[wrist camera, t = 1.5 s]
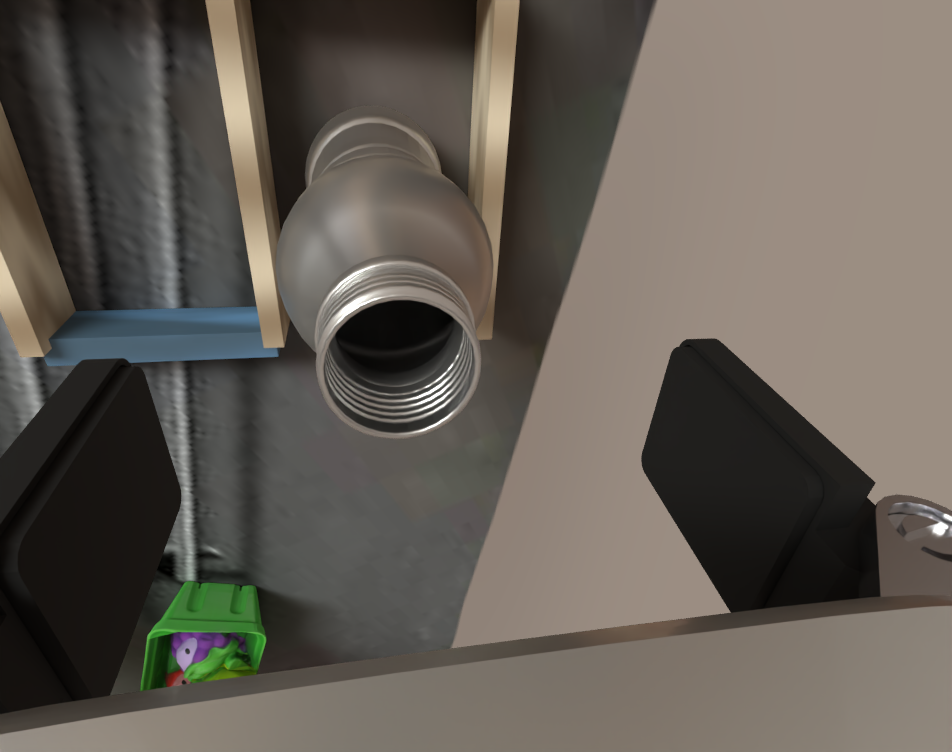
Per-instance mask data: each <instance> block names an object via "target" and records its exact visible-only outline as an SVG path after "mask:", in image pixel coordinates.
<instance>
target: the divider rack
mask: <svg viewBox="0 0 952 752" xmlns="http://www.w3.org/2000/svg"><path fill="white" fill-rule="evenodd" d="M205 1H206V7H207V13H208V19H209V25H210V31H211V36H212V42H213V48H214V54H215V60H216V66H217V72H218V78H219V84H220V90H221V96H222V102H223V108H224V114H225V120H226V126H227V132H228V138H229V144H230V150H231V155H232V161H233V167H234V173H235V179H236V185H237V191H238V197H239V203H240V209H241V215H242V221H243V227H244V233H245V239H246V245H247V251H248V257H249V263H250V269H251V274H252V280H253V286H254V292H255V298H256V304H257V307H219V308H179V309H139V310H98V311H76V310H75V307H74V304H73V302H72V299H71V296H70V293H69V290H68V288H67V285H66V282H65V279H64V277H63V274H62V271H61V268H60V265H59V263H58V260H57V257H56V254H55V252H54V249H53V246H52V243H51V240H50V238H49V235H48V232H47V229H46V227H45V224H44V221H43V218H42V215H41V213H40V210H39V207H38V204H37V202H36V199H35V196H34V193H33V190H32V188H31V185H30V182H29V179H28V177H27V174H26V171H25V168H24V166H23V163H22V160H21V157H20V154H19V152H18V149H17V146H16V143H15V141H14V138H13V135H12V132H11V129H10V127H9V124H8V121H7V118H6V116H5V113H4V110H3V107H2V104H1V102H0V312H1V314H2V316H3V318H4V321H5V323H6V325H7V327H8V330H9V332H10V334H11V337H12V339H13V341H14V343H15V346H16V348H17V350H18V352H19V355H20V357H43V356H44V358H45V361H46V363H47V366H65V365H77V364H78V363H79V362H81V361H82V360H85V359H111V358H124V359H126V360H128V362H129V363H138V362H162V361H186V360H210V359H235V358H259V357H278V356H279V352H280V348H281V347H284V346H285V341H286V337H287V332H288V328H289V323H290V317H289V315H288V313H287V311H286V309H285V306H284V303H283V301H282V298H281V295H280V292H279V289H278V282H277V275H276V268H275V267H276V254H277V244H278V241H279V237H280V234H281V230H280V223H279V215H278V208H277V200H276V193H275V185H274V178H273V170H272V163H271V155H270V147H269V140H268V132H267V125H266V117H265V110H264V102H263V95H262V87H261V80H260V72H259V64H258V57H257V49H256V42H255V34H254V27H253V19H252V12H251V4H250V0H205ZM519 2H520V0H477V13H476V34H475V55H474V76H473V96H472V117H471V138H470V158H469V179H468V198H469V199H470V201H471V202H472V203H473V204H474V205H475V207H476V209H477V211H478V212H479V214H480V216H481V218H482V219H483V221H484V223H485V225H486V229H487V232H488V235H489V238H490V241H491V245H492V254H493V263H494V267H493V279H492V288H491V294H490V298H489V302H488V305H487V309H486V312H485V315H484V317H483V319H482V321H481V323H480V325H479V327H478V329H477V330H476V335H477V338H478V340H487V339H492V331H493V319H494V306H495V294H496V282H497V270H498V258H499V245H500V233H501V221H502V209H503V197H504V185H505V172H506V160H507V148H508V136H509V124H510V112H511V99H512V87H513V75H514V63H515V51H516V39H517V26H518V14H519Z"/></svg>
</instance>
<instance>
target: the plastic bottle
mask: <svg viewBox="0 0 952 752" xmlns="http://www.w3.org/2000/svg"><path fill="white" fill-rule="evenodd" d="M305 180H306V190H305V191H304V192H303V193H302V195H301V196H300V197H299V198H298V200H297V202H296V203H295V204H294V206H293V208H292V210H291V211H290V213H289V215H288V217H287V219H286V220H285V222H284V224H283V227H282V231H281V234H280V237H279V241H278V244H277V254H276V267H275V268H276V275H277V282H278V289H279V292H280V295H281V298H282V301H283V303H284V306H285V309H286V311H287V313H288V315H289V317H290V319H291V321H292V323H293V324H294V326H295V328H296V329H297V331H298V333H299V334H300V336H301V337H302V338H303V340H304V341H305V342H306V343H307V344H308V345H309V346H310V347H311V348H312V350H313V351H314V352H316V354H317V357H316V372H317V379H318V384H319V387H320V390H321V393H322V395H323V398H324V399H325V401H326V403H327V404H328V406H329V407H330V409H331V410H332V411H333V412H334V413H335V414H336V415H337V416H338V418H339V419H340V420H342V421H343V422H345V423H346V424H347V425H349V426H350V427H352V428H354V429H356V430H358V431H360V432H362V433H365V434H368V435H371V436H375V437H379V438H389V439H402V438H411V437H416V436H420V435H424V434H426V433H429V432H431V431H434V430H436V429H438V428H440V427H442V426H443V425H445V424H446V423H448V422H450V421H451V420H452V419H453V418H454V417H455V416H457V415H458V414H459V413H460V412H461V411H462V410H463V408H464V407H465V406H466V405H467V403H468V402H469V401H470V399H471V397H472V395H473V393H474V392H475V390H476V387H477V384H478V381H479V377H480V371H481V351H480V344H479V340H478V338H477V335H476V330H477V329H478V327H479V325H480V323H481V321H482V319H483V317H484V315H485V312H486V309H487V305H488V302H489V298H490V294H491V288H492V279H493V267H494V263H493V254H492V245H491V241H490V238H489V235H488V232H487V229H486V225H485V223H484V221H483V219H482V218H481V216H480V214H479V212H478V211H477V209H476V207H475V205H474V204H473V203H472V202H471V201H470V199H469V198H468V197H467V196H466V195H465V194H464V192H463V191H462V190H461V189H460V188H459V187H458V186H456V185H455V184H454V183H453V182H452V181H451V180H449V179H448V178H447V177H445V176H444V175H443V174H442V172H441V166H440V161H439V158H438V156H437V153H436V150H435V148H434V146H433V144H432V142H431V141H430V139H429V137H428V136H427V135H426V133H425V132H424V131H423V130H422V129H421V128H420V126H419V125H418V124H416V123H415V122H414V121H413V120H411V119H410V118H409V117H407V116H406V115H404V114H402V113H400V112H398V111H396V110H394V109H390V108H386V107H382V106H370V105H365V106H359V107H354V108H350V109H348V110H346V111H344V112H341V113H339V114H337V115H336V116H335V117H333V118H332V119H331V120H329V121H328V122H327V123H326V124H325V125H324V126H323V127H322V129H321V130H320V131H319V132H318V133H317V135H316V137H315V139H314V141H313V142H312V144H311V146H310V150H309V153H308V156H307V160H306V169H305Z"/></svg>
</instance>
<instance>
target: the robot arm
mask: <svg viewBox="0 0 952 752" xmlns="http://www.w3.org/2000/svg"><path fill="white" fill-rule="evenodd" d="M642 467H643V470H644V472H645V474H646V476H647V477H648V479H649V481H650V482H651V484H652V486H653V487H654V489H655V490H656V492H657V494H658V495H659V497H660V498H661V500H662V502H663V503H664V505H665V507H666V508H667V510H668V512H669V513H670V515H671V516H672V518H673V520H674V521H675V523H676V524H677V526H678V528H679V529H680V531H681V533H682V534H683V536H684V537H685V539H686V541H687V542H688V544H689V545H690V547H691V549H692V550H693V552H694V554H695V555H696V557H697V559H698V560H699V562H700V563H701V565H702V567H703V568H704V570H705V572H706V573H707V575H708V576H709V578H710V580H711V581H712V583H713V584H714V586H715V588H716V589H717V591H718V593H719V594H720V596H721V597H722V599H723V601H724V602H725V604H726V606H727V607H728V608H729V610H730V612H731V613H726V614H718V615H710V616H702V617H695V618H686V619H678V620H670V621H662V622H653V623H645V624H638V625H629V626H621V627H614V628H606V629H598V630H590V631H583V632H575V633H567V634H559V635H551V636H544V637H536V638H528V639H520V640H513V641H505V642H498V643H490V644H483V645H474V646H467V647H459V648H451V649H444V650H436V651H428V652H421V653H413V654H405V655H398V656H391V657H383V658H376V659H368V660H361V661H354V662H346V663H339V664H331V665H324V666H317V667H309V668H302V669H294V670H287V671H280V672H272V673H265V674H257V675H250V676H243V677H235V678H228V679H220V680H213V681H206V682H198V683H191V684H185V685H178V686H171V687H165V688H158V689H152V690H145V691H138V692H132V693H125V694H118V695H112V696H109V695H110V693H111V691H112V688H113V686H114V683H115V680H116V678H117V675H118V672H119V670H120V667H121V664H122V662H123V659H124V656H125V654H126V651H127V648H128V646H129V643H130V640H131V637H132V635H133V632H134V629H135V627H136V624H137V621H138V619H139V616H140V613H141V611H142V608H143V605H144V603H145V600H146V597H147V595H148V592H149V589H150V587H151V584H152V581H153V579H154V576H155V573H156V571H157V568H158V565H159V563H160V560H161V557H162V555H163V552H164V549H165V546H166V544H167V541H168V538H169V536H170V533H171V530H172V528H173V525H174V522H175V520H176V517H177V514H178V512H179V509H180V504H181V489H180V485H179V482H178V479H177V475H176V472H175V469H174V466H173V463H172V460H171V456H170V453H169V450H168V447H167V444H166V441H165V437H164V434H163V431H162V428H161V425H160V422H159V418H158V415H157V412H156V409H155V406H154V403H153V399H152V396H151V393H150V390H149V387H148V384H147V380H146V377H145V374H144V372H143V370H142V369H141V368H140V367H138V366H136V367H132V366H131V364H130V363H129V362H128V360H126V359H124V358H111V359H85V360H82V361H81V362H79V363H78V364H77V366H76V367H75V368H74V369H73V370H72V372H71V373H70V374H69V375H68V377H67V378H66V379H65V380H64V381H63V383H62V384H61V385H60V386H59V387H58V389H57V390H56V391H55V392H54V394H53V395H52V396H51V397H50V398H49V400H48V401H47V402H46V403H45V405H44V406H43V407H42V408H41V409H40V411H39V412H38V413H37V414H36V415H35V417H34V418H33V419H32V420H31V422H30V423H29V424H28V425H27V426H26V428H25V429H24V430H23V431H22V432H21V434H20V435H19V436H18V437H17V439H16V440H15V441H14V442H13V443H12V445H11V446H10V447H9V448H8V450H7V451H6V452H5V453H4V454H3V456H2V457H1V458H0V752H952V511H951V510H949V509H947V508H945V507H943V506H941V505H938V504H936V503H933V502H931V501H929V500H925V499H921V498H918V497H914V496H907V495H892V496H887V497H884V498H883V499H881V500H880V501H878V503H877V504H876V506H875V505H874V504H873V503H872V502H871V501H870V500H869V499H868V498H867V496H868V494H869V493H870V491H871V489H872V488H873V486H874V484H875V482H874V481H873V480H872V479H871V478H870V477H869V476H868V475H867V474H865V473H864V472H863V471H862V470H861V469H860V468H859V467H858V466H857V465H855V464H854V463H853V462H852V461H851V460H850V459H849V458H848V457H847V456H846V455H844V454H843V453H842V452H841V451H840V450H839V449H838V448H837V447H836V446H835V445H833V444H832V443H831V442H830V441H829V440H828V439H827V438H826V437H825V436H824V435H823V434H821V433H820V432H819V431H818V430H817V429H816V428H815V427H814V426H813V425H812V424H810V423H809V422H808V421H807V420H806V419H805V418H804V417H803V416H802V415H801V414H799V413H798V412H797V411H796V410H795V409H794V408H793V407H792V406H791V405H789V404H788V403H787V402H786V401H785V400H784V399H783V398H782V397H781V396H780V395H779V394H777V393H776V392H775V391H774V390H773V389H772V388H771V387H770V386H769V385H768V384H767V383H765V382H764V381H763V380H762V379H761V378H760V377H759V376H758V375H757V374H755V373H754V372H753V371H752V370H751V369H750V368H749V367H748V366H747V365H746V364H745V363H743V362H742V361H741V360H740V359H739V358H738V357H737V356H736V355H735V354H734V353H732V352H731V351H730V350H729V349H728V348H727V347H726V346H725V345H724V344H723V343H721V342H720V341H719V340H717V339H686V340H685V341H683V342H682V343H681V344H680V346H679V347H676V348H675V349H674V350H673V351H672V353H671V356H670V359H669V363H668V366H667V369H666V373H665V376H664V380H663V384H662V387H661V390H660V394H659V397H658V400H657V404H656V407H655V411H654V414H653V418H652V421H651V424H650V428H649V431H648V435H647V438H646V442H645V445H644V449H643V452H642Z"/></svg>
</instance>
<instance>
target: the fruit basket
mask: <svg viewBox="0 0 952 752" xmlns="http://www.w3.org/2000/svg"><path fill="white" fill-rule="evenodd" d="M265 644H266V635H265V630H264V628H263V626H262V622H261V616H260V609H259V602H258V596H257V590H256V587H255V586H252V585H247V586H242V587H240V586H239V585H235V584H223V583H202V584H200V583H197V582H193V581H187V582H185V583H184V585H183V586H182V588H181V589H180V591H179V593H178V594H177V596H176V597H175V599H174V600H173V602H172V603H171V605H170V606H169V608H168V609H167V611H166V613H165V614H164V616H163V617H162V619H161V620H160V621H159V622H158V623H157V624H156V625H155V626H154V627H153V629H152V630H151V631H150V633H149V634H148V636H147V644H146V652H145V660H144V667H143V673H142V680H141V687H140V691H145V690H152V689H158V688H165V687H171V686H178V685H185V684H191V683H198V682H206V681H213V680H220V679H228V678H235V677H243V676H250V675H257V672H258V668H259V665H260V661H261V658H262V654H263V651H264V648H265Z"/></svg>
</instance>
